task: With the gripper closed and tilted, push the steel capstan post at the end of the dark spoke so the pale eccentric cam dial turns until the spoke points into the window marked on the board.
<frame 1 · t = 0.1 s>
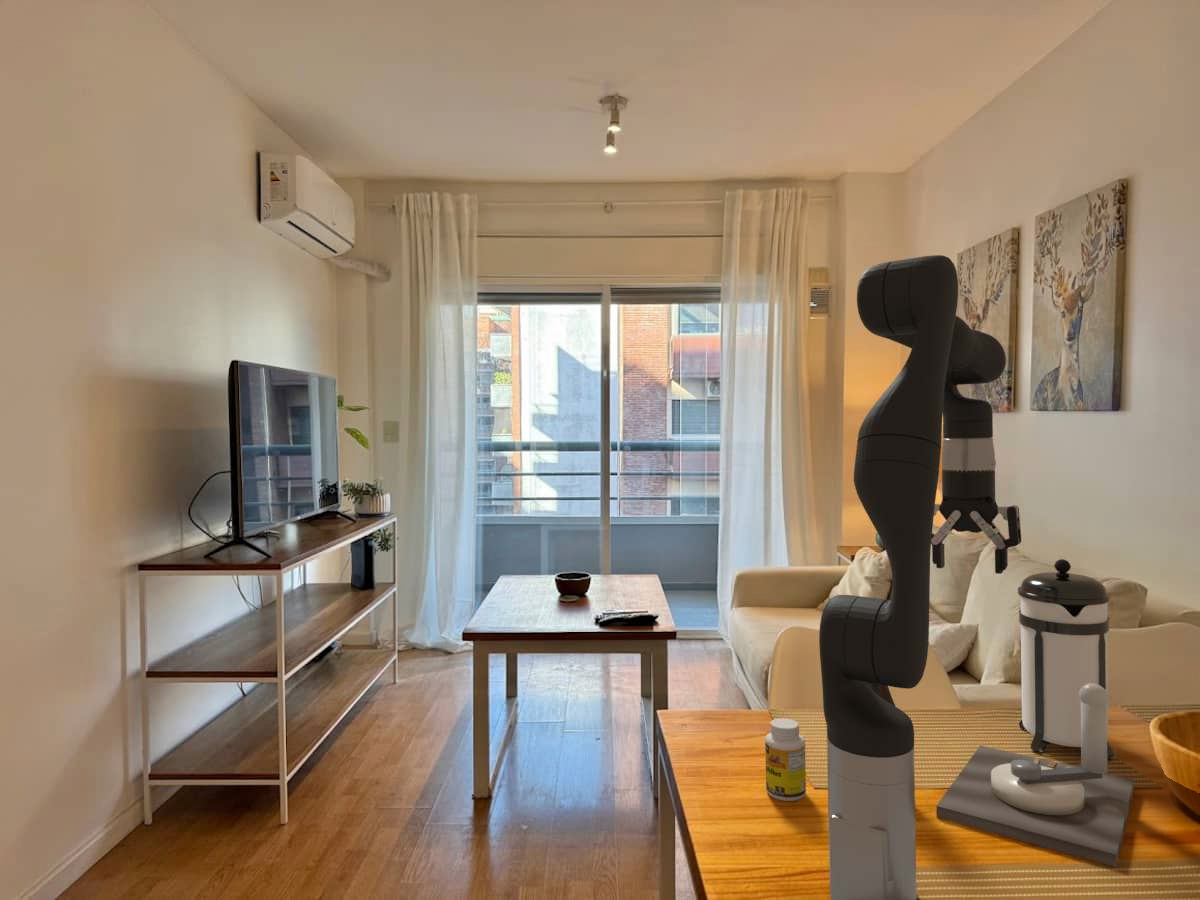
hand: (969, 570, 121), 29 cm above the table, tool pointing down, fingers open, 8 cm apart
supplement bottle: (786, 795, 110), on the table
dial board: (1038, 802, 106), on the table
sauce bottle: (875, 792, 110), on the table
coffee press: (1059, 741, 126), on the table
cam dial: (1052, 740, 105), point 9 cm above the table, hinge at -45.0°
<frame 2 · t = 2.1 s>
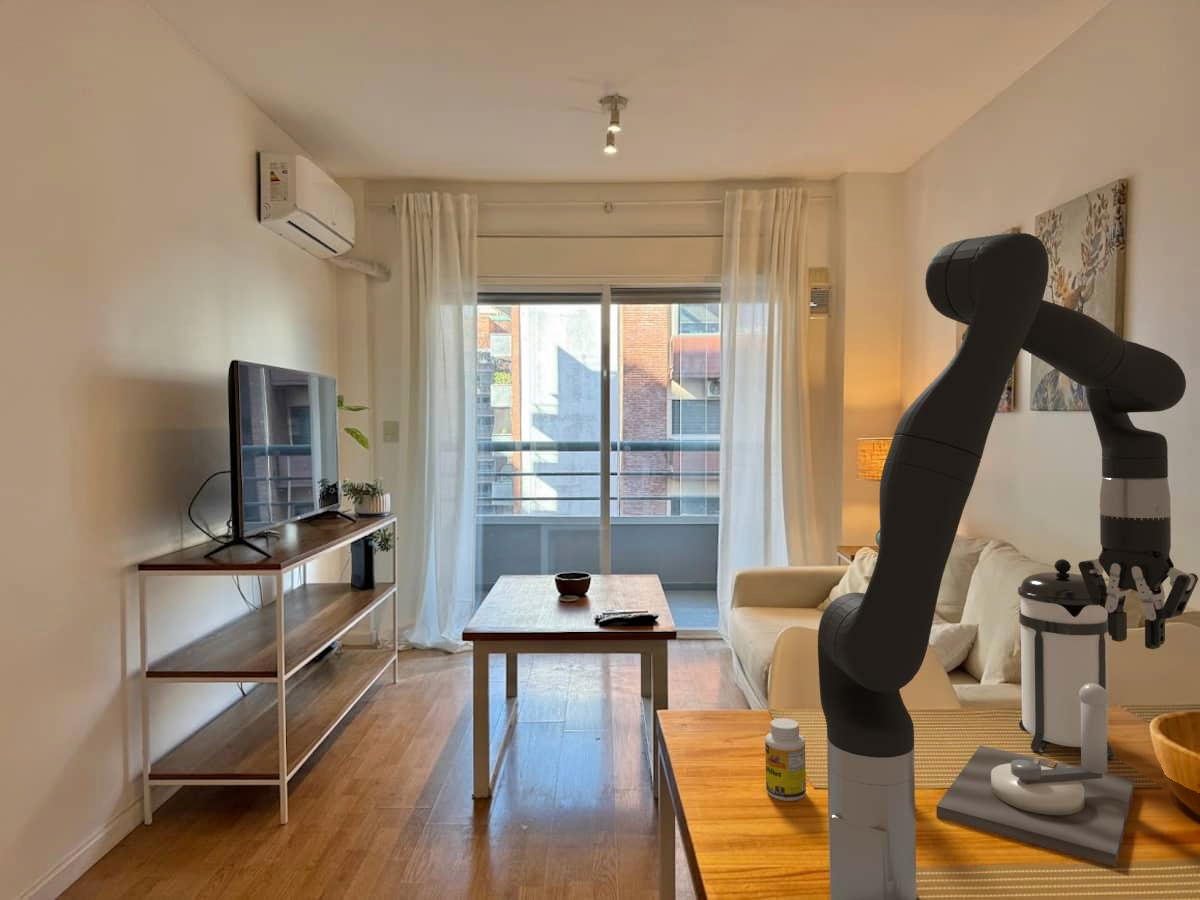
hand: (1135, 643, 100), 23 cm above the table, tool pointing down, fingers open, 3 cm apart
nothing on the table moved.
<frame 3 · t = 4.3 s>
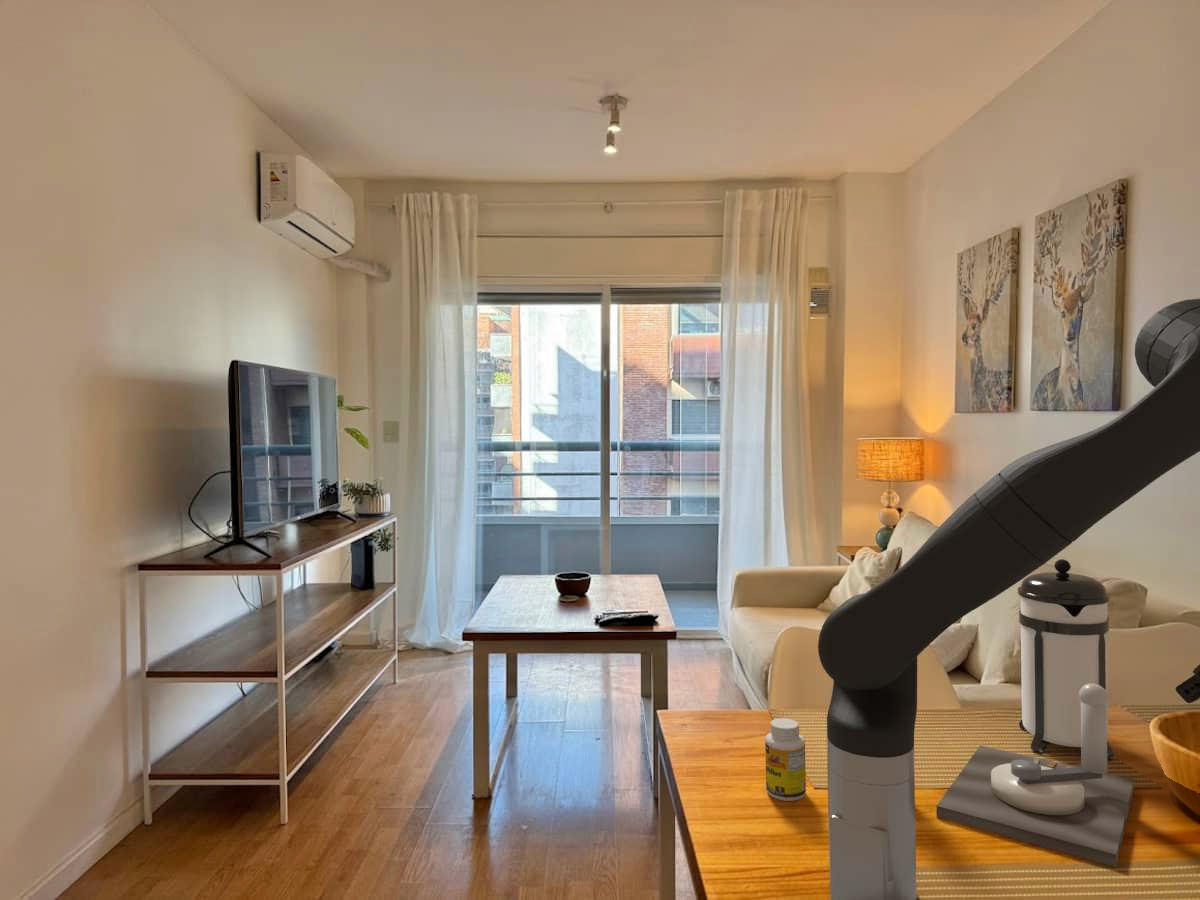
hand: (1184, 695, 95), 18 cm above the table, tool tilted 45°, fingers closed
nothing on the table moved.
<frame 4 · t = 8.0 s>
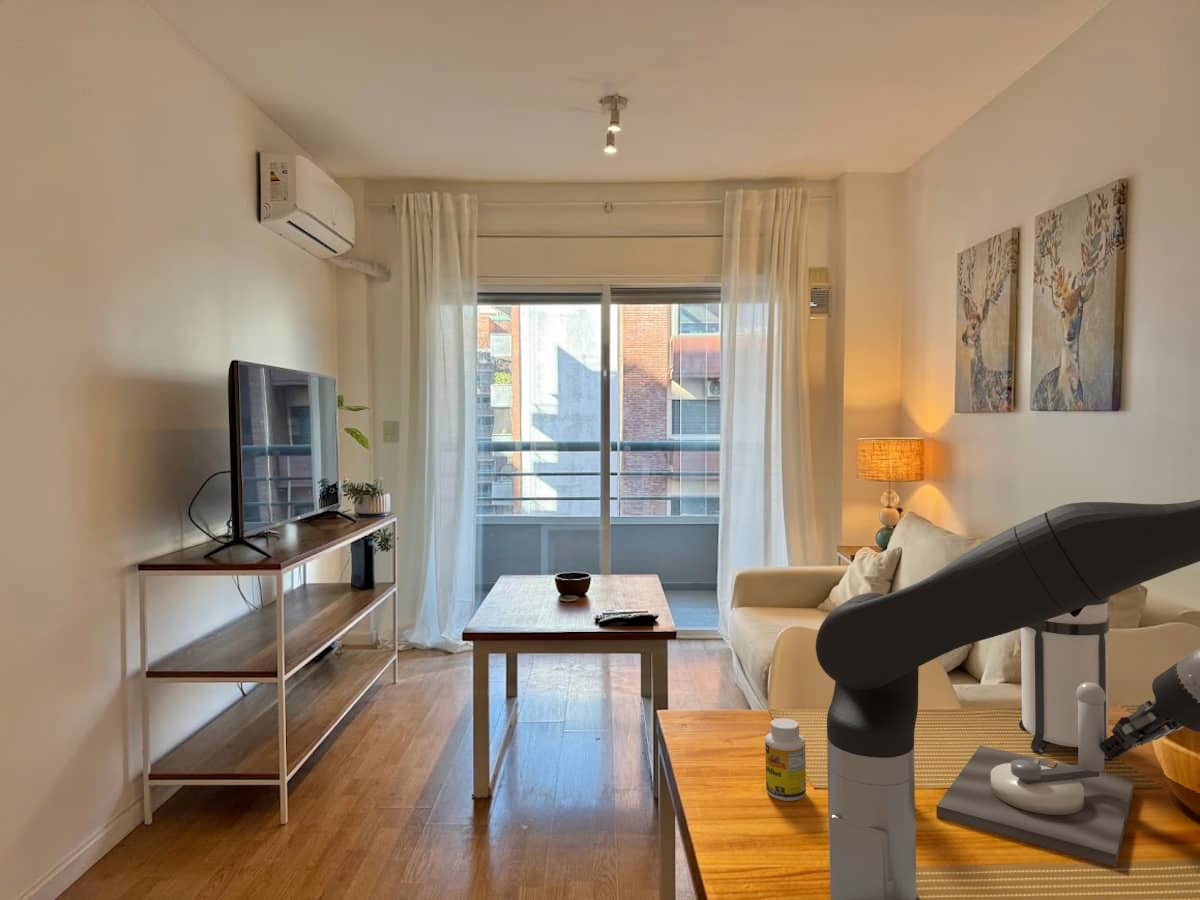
hand: (1107, 751, 104), 8 cm above the table, tool tilted 45°, fingers closed
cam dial: (1051, 739, 105), point 9 cm above the table, hinge at -42.0°, touching gripper
everything else where it was.
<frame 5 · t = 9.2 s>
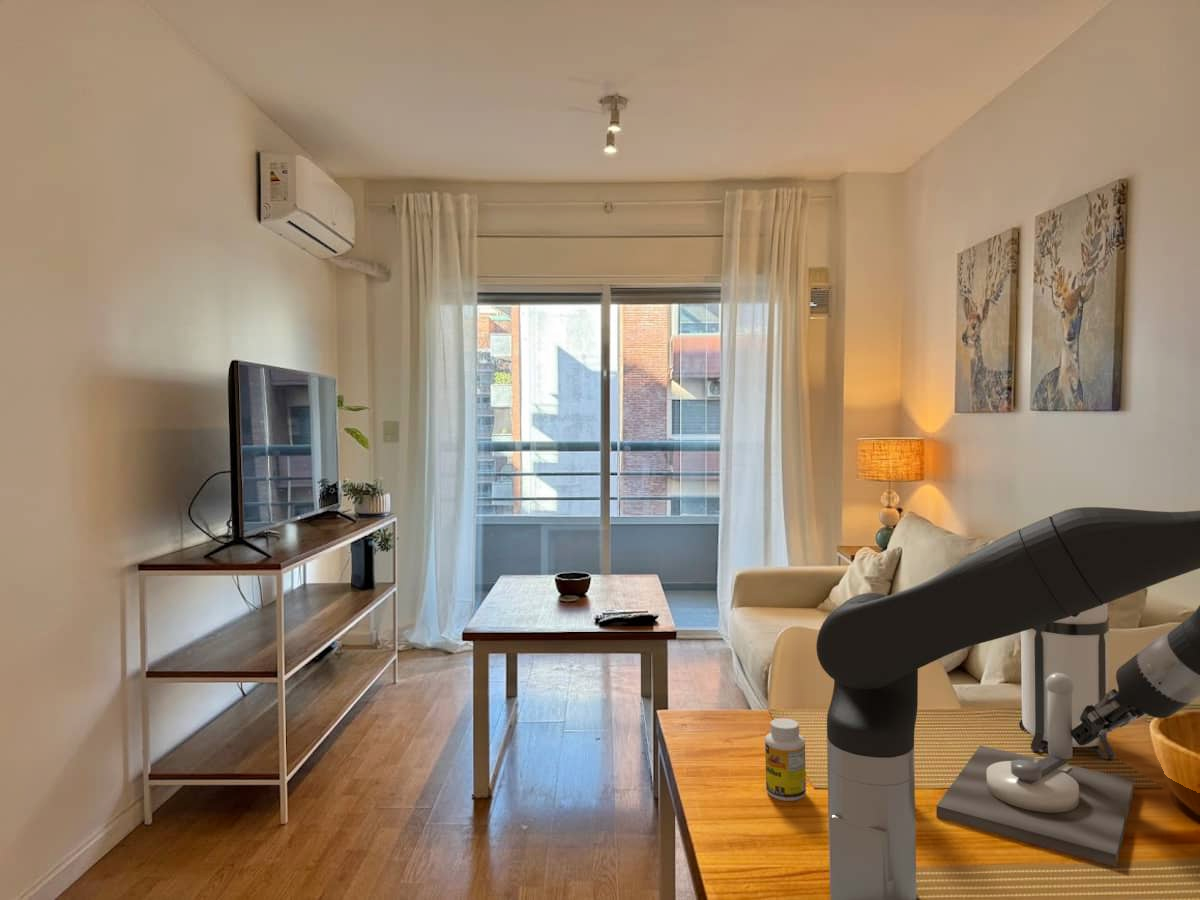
hand: (1078, 738, 109), 7 cm above the table, tool tilted 45°, fingers closed
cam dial: (1039, 735, 107), point 9 cm above the table, hinge at -15.5°, touching gripper
everything else where it was.
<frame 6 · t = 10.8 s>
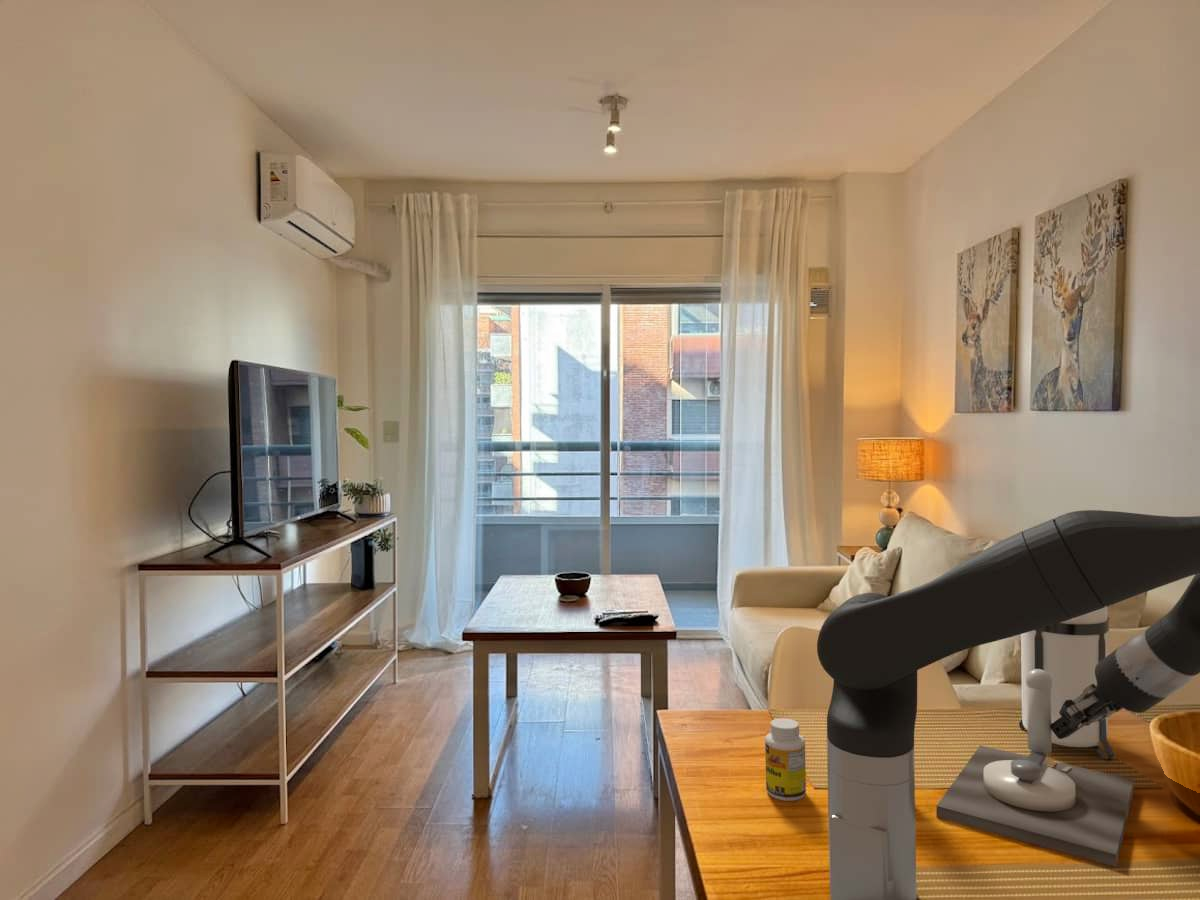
hand: (1057, 731, 111), 8 cm above the table, tool tilted 45°, fingers closed
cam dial: (1031, 733, 107), point 9 cm above the table, hinge at -0.2°, touching gripper
everything else where it was.
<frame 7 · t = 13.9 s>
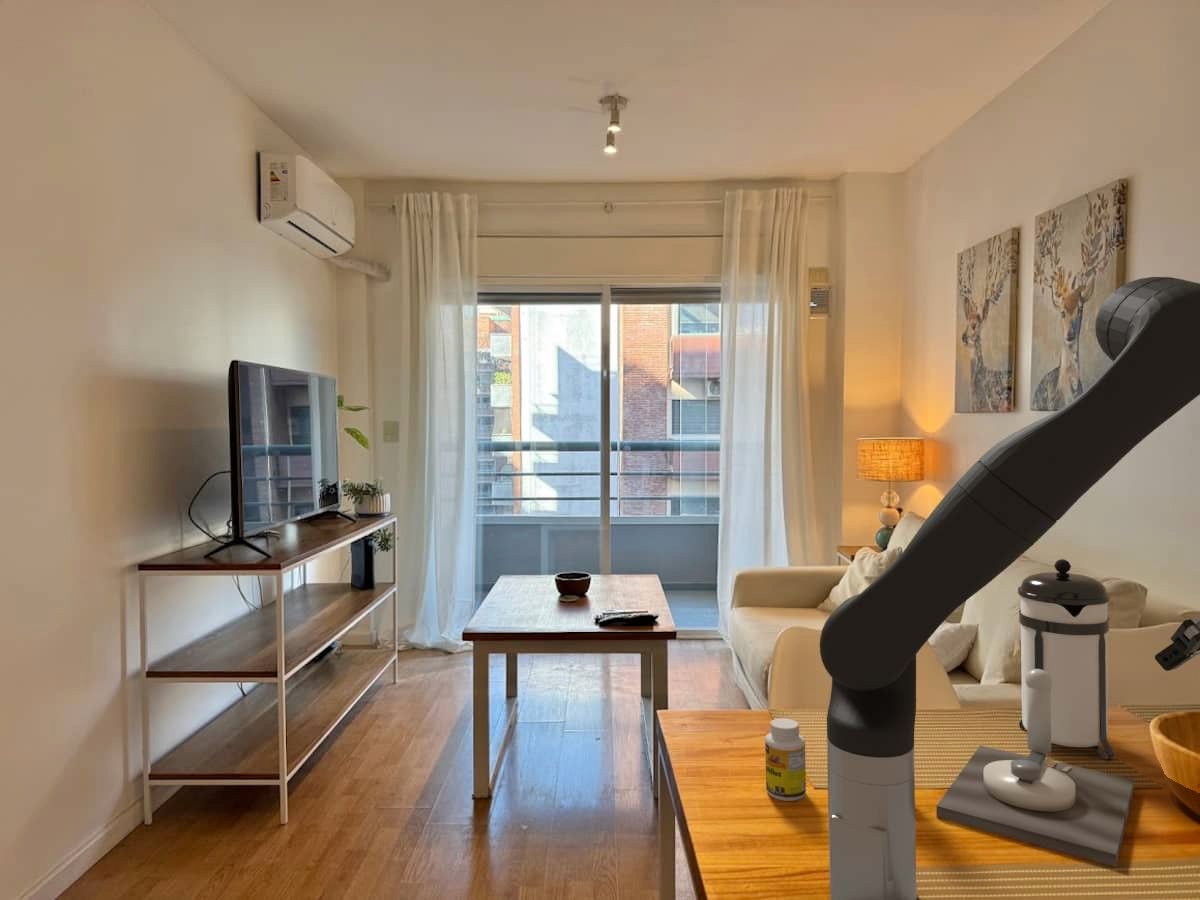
hand: (1163, 663, 97), 22 cm above the table, tool tilted 45°, fingers closed
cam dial: (1031, 733, 107), point 9 cm above the table, hinge at 0.1°
everything else where it was.
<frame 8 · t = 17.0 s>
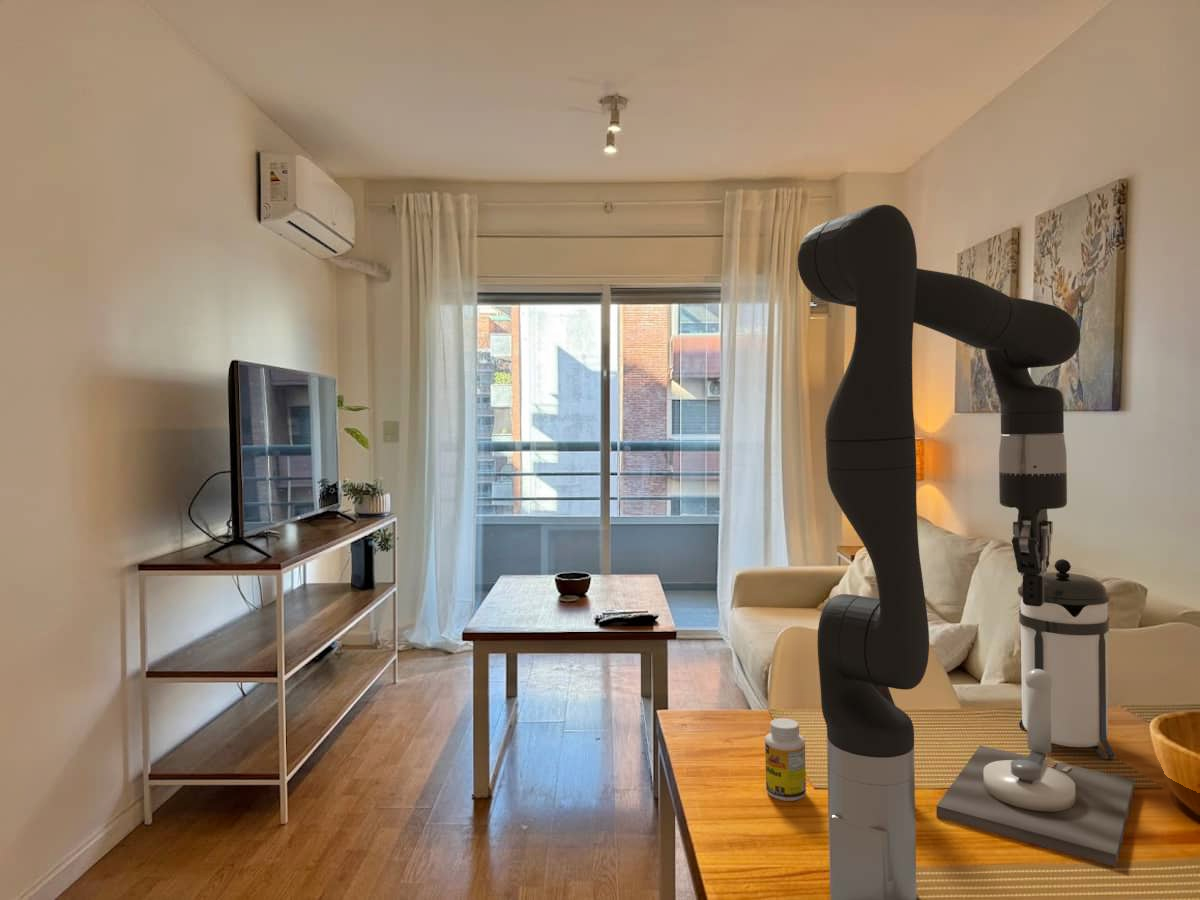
hand: (1033, 604, 99), 29 cm above the table, tool pointing down, fingers closed
nothing on the table moved.
at the end: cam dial at +0° (first picture: -45°) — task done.
